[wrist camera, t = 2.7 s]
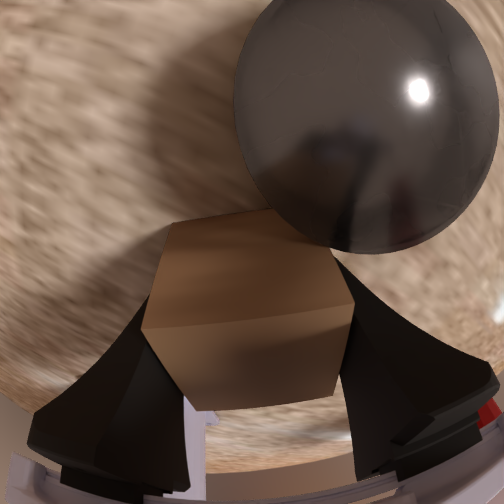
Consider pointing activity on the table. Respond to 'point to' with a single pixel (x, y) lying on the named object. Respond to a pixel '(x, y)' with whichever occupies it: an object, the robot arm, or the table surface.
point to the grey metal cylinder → (366, 118)
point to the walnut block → (248, 312)
